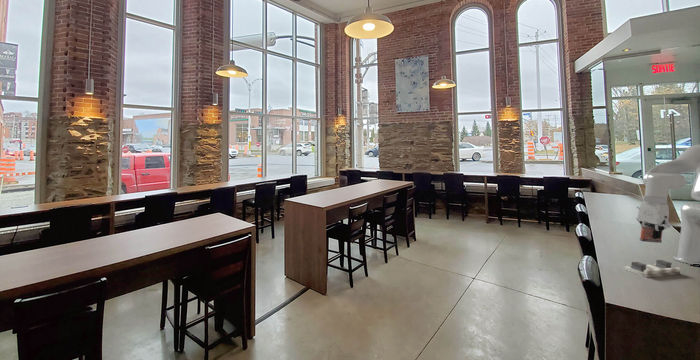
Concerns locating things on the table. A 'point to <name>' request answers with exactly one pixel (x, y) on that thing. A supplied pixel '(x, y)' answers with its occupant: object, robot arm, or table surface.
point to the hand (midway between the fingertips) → (651, 236)
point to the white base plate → (653, 269)
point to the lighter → (648, 233)
